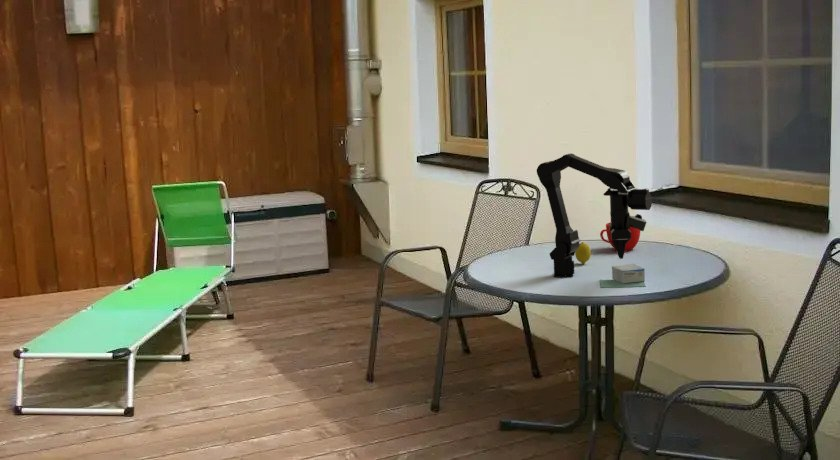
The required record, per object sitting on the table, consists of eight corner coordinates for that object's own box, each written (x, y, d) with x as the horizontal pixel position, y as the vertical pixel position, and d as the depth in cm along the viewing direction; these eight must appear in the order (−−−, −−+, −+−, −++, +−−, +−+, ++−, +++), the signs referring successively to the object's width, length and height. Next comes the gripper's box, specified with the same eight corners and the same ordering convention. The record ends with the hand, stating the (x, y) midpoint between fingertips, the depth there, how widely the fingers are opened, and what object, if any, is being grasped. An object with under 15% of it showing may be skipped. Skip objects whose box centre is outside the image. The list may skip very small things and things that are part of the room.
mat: (600, 287, 310) (600, 287, 309) (599, 280, 320) (599, 279, 320) (645, 286, 307) (645, 286, 307) (643, 279, 318) (643, 278, 317)
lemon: (580, 266, 344) (580, 244, 342) (572, 263, 349) (571, 241, 348) (594, 264, 346) (593, 242, 344) (585, 261, 351) (585, 240, 350)
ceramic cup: (591, 250, 370) (590, 225, 368) (627, 245, 377) (626, 219, 375) (611, 255, 358) (610, 229, 357) (648, 249, 365) (647, 223, 363)
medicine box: (611, 278, 320) (622, 284, 312) (611, 265, 319) (622, 270, 311) (634, 276, 322) (645, 281, 313) (633, 263, 321) (644, 268, 312)
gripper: (646, 212, 305) (647, 260, 307) (642, 203, 323) (643, 249, 326) (610, 213, 307) (612, 262, 309) (608, 205, 325) (609, 250, 327)
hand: (620, 255), depth 318 cm, fingers open, 9 cm apart
